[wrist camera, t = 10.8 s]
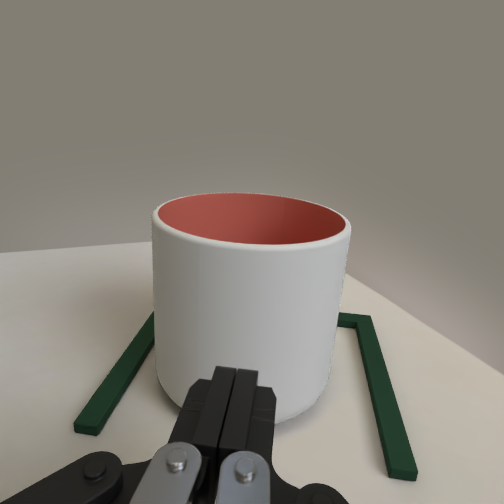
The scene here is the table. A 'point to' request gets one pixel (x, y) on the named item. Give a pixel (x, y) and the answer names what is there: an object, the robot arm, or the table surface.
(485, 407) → the table surface
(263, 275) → the cup
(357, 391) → the table surface
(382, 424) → the frame
